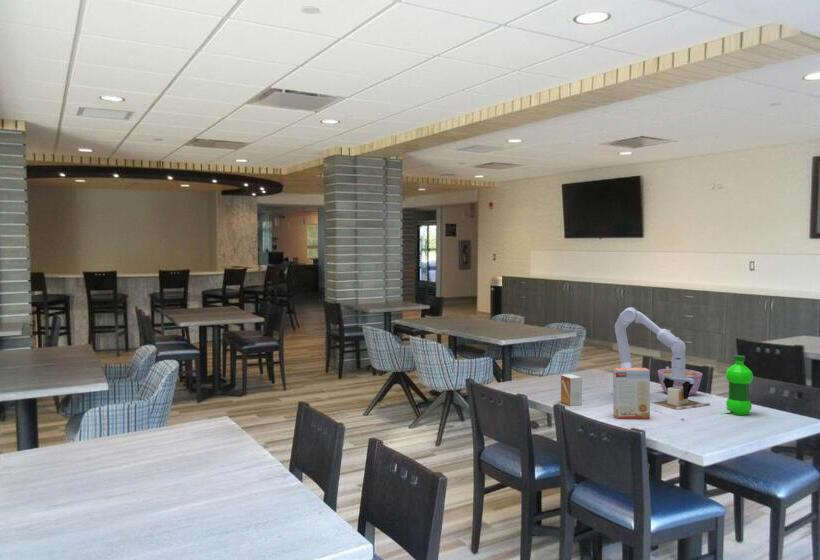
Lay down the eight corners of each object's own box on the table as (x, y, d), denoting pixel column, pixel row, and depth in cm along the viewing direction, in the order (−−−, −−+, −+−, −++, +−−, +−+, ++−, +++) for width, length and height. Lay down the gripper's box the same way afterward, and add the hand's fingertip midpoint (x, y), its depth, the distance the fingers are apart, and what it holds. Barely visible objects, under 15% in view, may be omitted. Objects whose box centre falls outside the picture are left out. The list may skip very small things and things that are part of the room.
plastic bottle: (738, 417, 261) (739, 358, 260) (719, 411, 272) (720, 354, 271) (757, 415, 264) (758, 357, 263) (738, 409, 274) (739, 353, 273)
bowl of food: (693, 391, 310) (693, 368, 310) (708, 401, 290) (709, 376, 290) (652, 391, 312) (652, 368, 312) (664, 400, 292) (664, 376, 292)
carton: (677, 405, 276) (678, 390, 276) (667, 403, 280) (667, 388, 280) (688, 403, 281) (688, 387, 280) (677, 401, 285) (677, 385, 285)
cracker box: (646, 415, 266) (646, 367, 265) (650, 419, 260) (650, 369, 259) (612, 415, 267) (612, 366, 266) (615, 418, 261) (616, 369, 260)
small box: (560, 402, 290) (560, 374, 290) (572, 401, 292) (572, 373, 292) (570, 406, 283) (570, 378, 282) (582, 405, 285) (582, 377, 284)
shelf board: (677, 413, 268) (677, 408, 268) (651, 405, 282) (651, 400, 282) (710, 408, 276) (710, 403, 276) (683, 401, 290) (683, 396, 290)
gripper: (658, 365, 284) (658, 395, 284) (688, 370, 272) (687, 401, 272) (667, 364, 288) (667, 393, 288) (697, 368, 276) (696, 399, 276)
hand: (677, 396), depth 280 cm, fingers open, 7 cm apart
